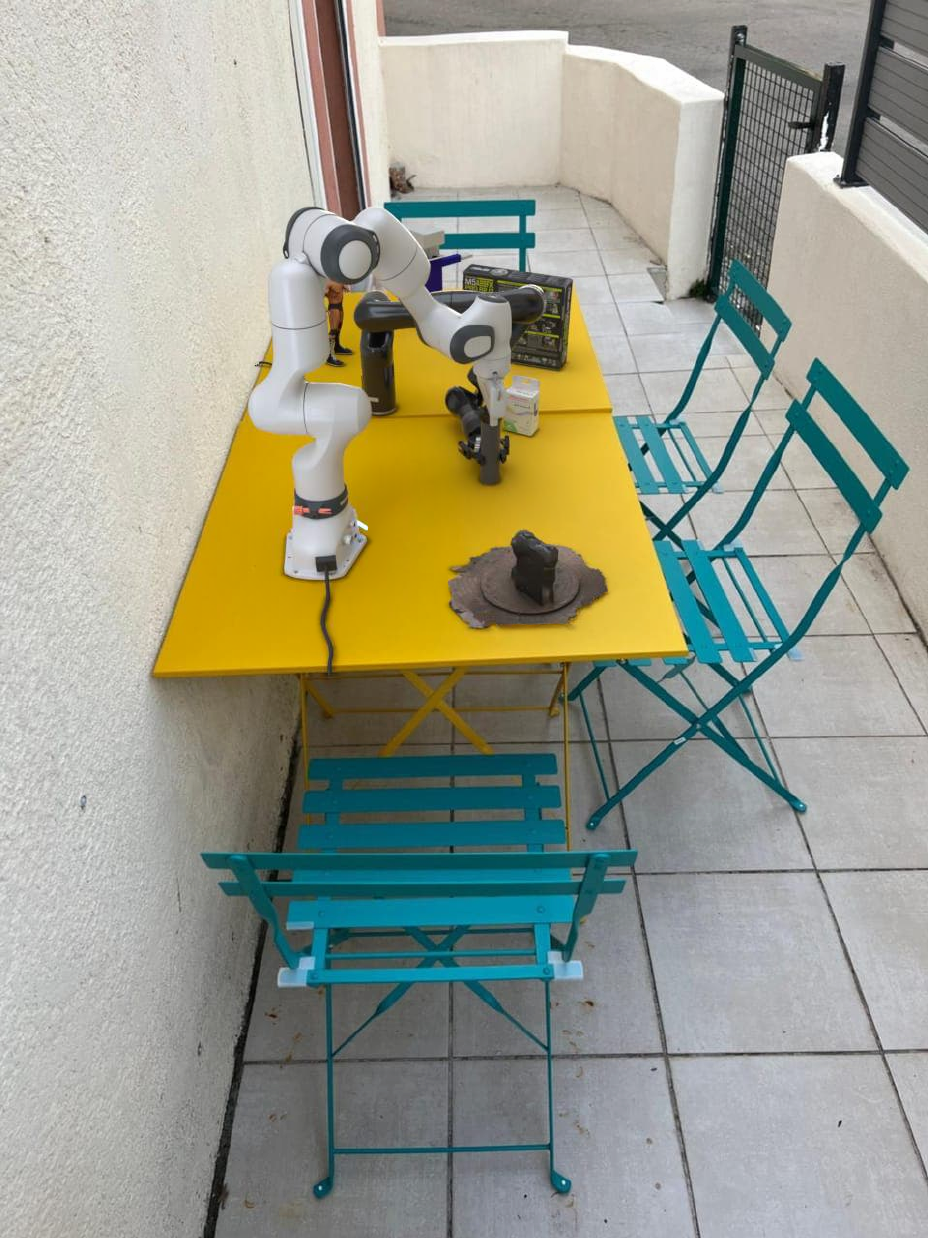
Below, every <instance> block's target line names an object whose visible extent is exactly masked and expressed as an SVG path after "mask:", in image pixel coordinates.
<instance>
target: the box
mask: <svg viewBox="0 0 928 1238" xmlns="http://www.w3.org/2000/svg"><path fill="white" fill-rule="evenodd" d="M525 285H536V286H538V287H540V288H541V289H542V290H543V291H544V293H545V295H546V299H547V306H546V310H545V312H544V314H543V315H542V316H541V318H540V319H538V320H537V321H536V322H534V323H533V324H532V325H531V326H530V327H529V328H528V329H527V330H526V331H525V333H524V334H523V335H522V337H521V338H520V339H519V341H518V342H517V344H516V345H515V347H514V348H513V350H512V352H511V363H513V364H517V365H525V366H531V367H538V368H544V369H547V370H554V371H560V370H561V369H562V367H563V366H564V365H565V363H566V362H567V360H568V359H567V358H568V346H569V345H568V344H569V336H570V335H569V334H570V323H571V322H570V321H571V309H572V308H571V307H572V299H573V285H574V278H570V277H566V276H559V275H552V274H547V273H545V274H544V273H540V272H539V273H538V272H532V271H525V270H517V269H510V268H504V267H496V266H489V265H482V264H475V263H470V264H468V266H466V268H464V269H463V270H462V290H468V291H477V292H484V293H495V292H503V291H510V290H515V289H519V288H521V287H522V286H525Z"/></svg>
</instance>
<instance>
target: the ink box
mask: <svg viewBox="0 0 928 1238" xmlns="http://www.w3.org/2000/svg"><path fill="white" fill-rule="evenodd" d="M523 381H527V382H523ZM528 382H529V383H528ZM540 384H541V383H540V379H536V378H532V377H527V376H523V375H519V374H512V384H511V386H509V387H508V388H507V389H505V391H506V415H505V417H504V418H503V420H504V421H503V423H504V424H503V430H505V431H508V432H513V433H517V434H520V435H524V436H528V437H532V436H533V434H535V432H537V430H538V427H539V410H540V396H541V395H540V394H541V391H540Z"/></svg>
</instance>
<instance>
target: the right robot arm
mask: <svg viewBox="0 0 928 1238" xmlns="http://www.w3.org/2000/svg"><path fill="white" fill-rule="evenodd" d="M482 293H484V292H477V291H468V290H463V289H451V290H450V289H448V290H446V289H445V290H442V291H437V292H431V293H430V294H431V296H432V297H433V298H434V300H436V301H438V302H441V303H444V304H445V305H447V306H449V307H450V308H451V309H453V310H454V311H456V312H458V313H460V314H463V313H464V312H465V311H466V310H468V309H469V308H470V307H471V305H472V304H473V303H474V301H475V299H476V296H477V295H479V294H482ZM492 294H497V295H499V296H501V297H503V298H505V299H506V300H507V301H508V302H509V304H510V308H511V318H512V331H511V338H510V342H509V344H510V349H511V352H512V350H513V348H514V347H515V345H516V344H517V342H518V341H519V339H520V338H521V337H522V335H523V334H524V333H525V331H526V330H527V329H528V328H529V327H530V326H531V325H532V324H533V323H534V322H536V321H537V320H538V319H540V318H541V316H542V315H543V314H544V312H545V310H546V306H547V299H546V295H545V293H544V291H543V290H542V289H541V288H540V287H538V286H536V285H525V286H522V287H521V288H519V289H515V290H510V291H503V292H495V293H492ZM352 317H353V322H354V324H355V326H356V327H357V328H358V329H359V330H361V331H360V332H361V333H360V339H359V354H360V355H359V356H360V365H361V376H360V379H361V380H360V381H361V388H362V389H363V390H364V391H365V393H366V394H367V396H368V397H369V400H370V403H371V408H372V414H371V416H386V415H387V416H388V415H391V414H393V413H394V412H396V411H397V408H398V403H397V390H396V389H397V388H396V375H395V374H396V373H395V359H394V340H395V331H399V330H406V329H416V327H415V324H414V321H413V319H412V317H411V315H410V314H409V312H408V311H407V310H406V309H405V307H404V306H403V305H402V303H401V302H400V301H399V300H398V301H391V298H390V297H389V296H388V295H387V294H386V293H385V292H384V291H381V290H378V289H372V290H369V291H367V292H365V293H364V294H362V296H361V298H360V299H359V301H358V303H357V304H356V305H355V307H354V309H353V314H352ZM258 362H259V364H257V366H259V365H267V366H271V367H272V364H273V362H270V361H263V360H260V361H258ZM466 378H467V380H468V382H469V383H470V384H471V385H472V386H474V387H475V390H474V392H472V391H471V390H469V389H467V388H465V387H463V386H462V385H454V386H451V387H450V388H448V389H447V390H446V393H445V396H444V405H445V408H446V409H447V411H448V412H449V413H450V414H451V416H452V417H454V418H455V419H456V420H457V421H458V424H459V426H460V428H461V432H462V435H463V436H464V439H465V440H466V441H465V442H464V441H463V440H458V441H457V444H458V445H457V451H458V452H459V453H460V454H461V455H462V456H463V457H464V458H465V459H466V460H467V461H471V460H472V459H473V460H474V461H475V463H476V465H478V466H479V467H481V466H484V460H483V457H482V455H481V420H480V418H479V410H480V408H481V407H483V406H484V398H483V395H482V393H481V390H480V387H479V385H478V381H477V375H475V374H474V372H473V364H472V365H471V367H470V368H469V370H468V372H467V374H466ZM510 441H511V440H510V435H504V437H500V464H501V465H505V464H506V462H507V456H509V455H510V454H511V453H510V447H511V442H510Z"/></svg>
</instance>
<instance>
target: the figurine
mask: <svg viewBox="0 0 928 1238" xmlns="http://www.w3.org/2000/svg"><path fill="white" fill-rule="evenodd" d="M344 292H345V293H351V289H350V288H349V287H348V285H343V284H339V283H336V282H334V281H332V280H330V279H329V281H328V283H327V286H326V289H325V298H326V299H327V301H328V304H327V307H326V313H327V321H328V323H329V331H328V333H329V342H330V354H329V357H328V359H327V361H326V363H327V364H328V365H331V366H335V367H343V366H344V365H345V362H344V361H343V360H340V359H339V358H338V357H336V356H335V354H336V355H352V354H353V351H352V349H351V348H349V347H346V346H343V345H342V344H341V341H340V340H341V339H340V338H341V331H342V328H343V323H344V318H345V317H344V316H345V311H344V306H343V302H344Z"/></svg>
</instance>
